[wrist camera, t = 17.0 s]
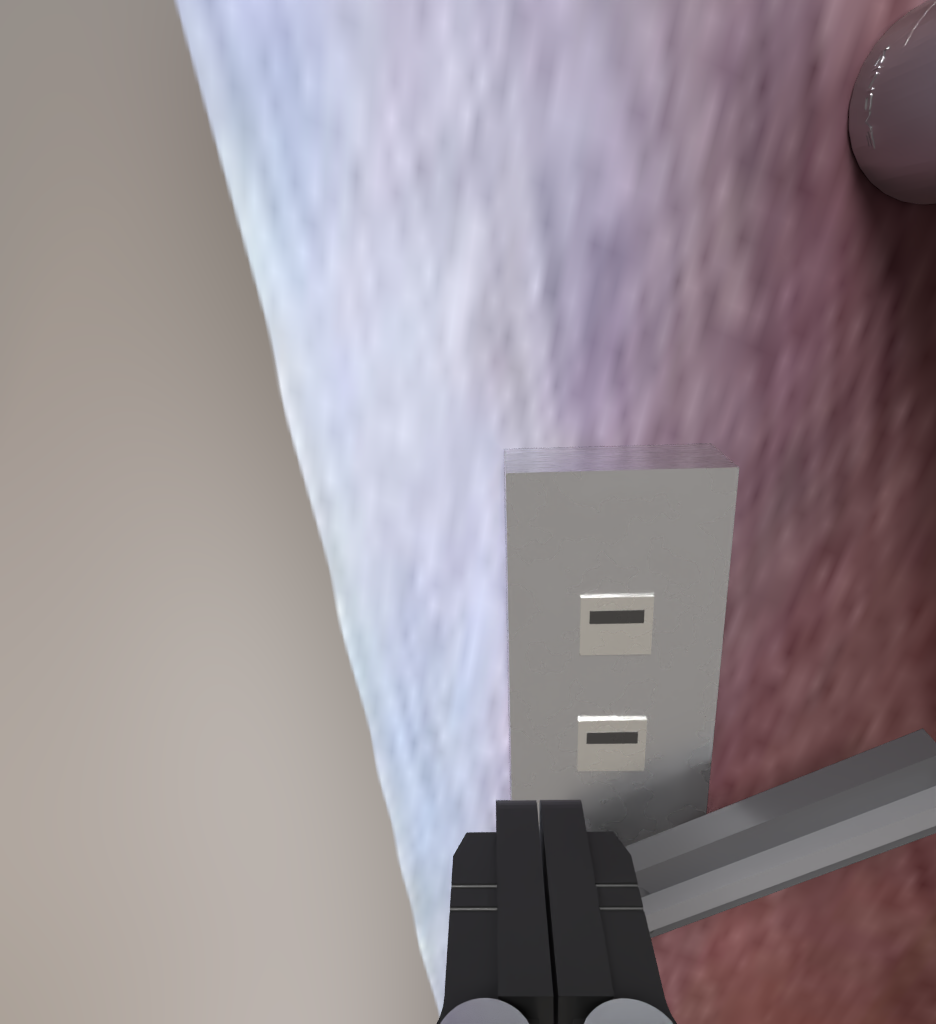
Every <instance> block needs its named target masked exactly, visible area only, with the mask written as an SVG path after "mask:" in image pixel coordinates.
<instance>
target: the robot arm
mask: <svg viewBox="0 0 936 1024" xmlns="http://www.w3.org/2000/svg"><path fill="white" fill-rule="evenodd" d="M849 134H850V139H851V145H852V150H853V152H854V155H855V157H856V160H857V162H858V164H859V167H860V168H861V170H862V171H863V172H864V174H865V175H866V177H867V178H868V179H869V181H870V182H871V183H872V184H873V185H875V186H876V187H877V188H878V189H880V190H881V191H882V192H883V193H884V194H887V195H889V196H891V197H893V198H895V199H898V200H900V201H903V202H909V203H914V204H936V0H928V1H926V2H925V3H923V4H921V5H920V6H918V7H916V8H914V9H913V10H911V11H910V12H908V13H907V14H906V15H905V16H903V17H902V18H901V19H899V20H898V21H897V22H896V23H894V24H893V25H892V26H891V27H890V28H889V29H888V30H887V32H886V33H885V34H884V35H883V36H882V37H881V38H880V39H879V40H878V42H877V43H876V44H875V46H874V47H873V49H872V51H871V52H870V54H869V55H868V57H867V58H866V60H865V62H864V63H863V65H862V68H861V70H860V73H859V75H858V78H857V80H856V82H855V85H854V89H853V93H852V98H851V103H850V107H849ZM437 1024H677V1023H676V1022H675V1020H674V1018H673V1017H672V1015H671V1013H670V1011H669V1009H668V1007H667V1003H666V1000H665V997H664V993H663V988H662V984H661V980H660V975H659V971H658V967H657V963H656V958H655V954H654V950H653V946H652V941H651V937H650V933H649V929H648V924H647V920H646V916H645V912H644V911H643V903H642V899H641V895H640V890H639V888H638V882H637V878H636V873H635V869H634V865H633V861H632V856H631V854H630V853H629V852H628V850H627V849H626V848H625V846H624V845H623V844H622V842H621V841H620V840H619V838H618V837H617V836H616V834H615V833H614V832H613V831H602V832H587V831H586V825H585V819H584V813H583V807H582V802H581V800H540V803H539V821H538V809H537V801H536V800H496V832H474V833H466V835H465V836H464V838H463V840H462V842H461V843H460V845H459V847H458V849H457V851H456V852H455V854H454V856H453V868H452V889H451V900H450V917H449V933H448V949H447V965H446V981H445V997H444V1004H443V1009H442V1012H441V1015H440V1018H439V1020H438V1022H437Z"/></svg>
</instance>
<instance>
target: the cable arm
mask: <svg viewBox="0 0 936 1024" xmlns="http://www.w3.org/2000/svg"><path fill="white" fill-rule="evenodd" d="M934 833H936V742H935V741H934V740H933V739H932V738H931V737H930V736H929V735H928V734H927V733H926V731H925V730H924V729H921V730H918V731H916V732H913V733H910V734H908V735H905V736H903V737H900V738H898V739H895V740H893V741H890V742H888V743H885V744H883V745H880V746H878V747H875V748H873V749H870V750H868V751H865V752H863V753H860V754H858V755H855V756H853V757H850V758H847V759H845V760H842V761H840V762H837V763H835V764H832V765H830V766H827V767H825V768H822V769H820V770H817V771H815V772H812V773H810V774H807V775H805V776H802V777H800V778H797V779H795V780H792V781H790V782H787V783H784V784H782V785H779V786H777V787H774V788H772V789H769V790H767V791H764V792H762V793H759V794H757V795H754V796H752V797H749V798H747V799H744V800H742V801H739V802H737V803H734V804H732V805H729V806H726V807H724V808H721V809H719V810H716V811H714V812H711V813H709V814H706V815H704V816H701V817H699V818H696V819H694V820H691V821H689V822H686V823H684V824H681V825H679V826H676V827H674V828H671V829H669V830H666V831H663V832H661V833H658V834H656V835H653V836H651V837H648V838H646V839H643V840H641V841H638V842H636V843H633V844H631V845H628V846H626V847H625V848H626V849H627V850H628V852H629V853H630V854H631V856H632V861H633V865H634V869H635V873H636V878H637V882H638V888H639V890H640V895H641V899H642V903H643V911H644V912H645V916H646V920H647V924H648V929H649V933H650V937H651V938H652V937H655V936H657V935H660V934H663V933H666V932H668V931H671V930H674V929H676V928H679V927H682V926H685V925H687V924H690V923H693V922H695V921H698V920H701V919H704V918H706V917H709V916H712V915H714V914H717V913H720V912H723V911H725V910H728V909H731V908H733V907H736V906H739V905H742V904H744V903H747V902H750V901H753V900H755V899H758V898H761V897H763V896H766V895H769V894H772V893H774V892H777V891H780V890H782V889H785V888H788V887H791V886H793V885H796V884H799V883H801V882H804V881H807V880H810V879H812V878H815V877H818V876H820V875H823V874H826V873H829V872H831V871H834V870H837V869H839V868H842V867H845V866H848V865H850V864H853V863H856V862H858V861H861V860H864V859H867V858H869V857H872V856H875V855H877V854H880V853H883V852H886V851H888V850H891V849H894V848H896V847H899V846H902V845H905V844H907V843H910V842H913V841H915V840H918V839H921V838H924V837H926V836H929V835H932V834H934Z"/></svg>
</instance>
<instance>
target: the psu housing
mask: <svg viewBox="0 0 936 1024" xmlns="http://www.w3.org/2000/svg"><path fill="white" fill-rule="evenodd" d="M504 475H505V530H506V584H507V638H508V693H509V747H510V800H536V801H537V809H538V821H539V803H540V800H581V802H582V807H583V813H584V819H585V825H586V831H587V832H602V831H613V832H614V833H615V834H616V836H617V837H618V838H619V840H620V841H621V842H622V844H623V845H624V846H625V847H626V846H628V845H631V844H633V843H636V842H638V841H641V840H643V839H646V838H648V837H651V836H653V835H656V834H658V833H661V832H663V831H666V830H669V829H671V828H674V827H676V826H679V825H681V824H684V823H686V822H689V821H691V820H694V819H696V818H699V817H701V816H704V815H706V811H707V801H708V790H709V780H710V769H711V759H712V748H713V738H714V727H715V717H716V706H717V696H718V685H719V674H720V664H721V653H722V643H723V632H724V622H725V611H726V601H727V590H728V580H729V569H730V559H731V548H732V538H733V527H734V517H735V506H736V496H737V485H738V475H739V467H738V466H737V465H736V464H735V463H734V462H732V461H731V460H730V459H729V458H728V457H726V456H725V455H724V454H723V453H722V452H721V451H719V450H718V449H717V448H716V447H715V446H713V445H712V444H711V443H708V444H671V445H633V446H595V447H557V448H519V449H504Z"/></svg>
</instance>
